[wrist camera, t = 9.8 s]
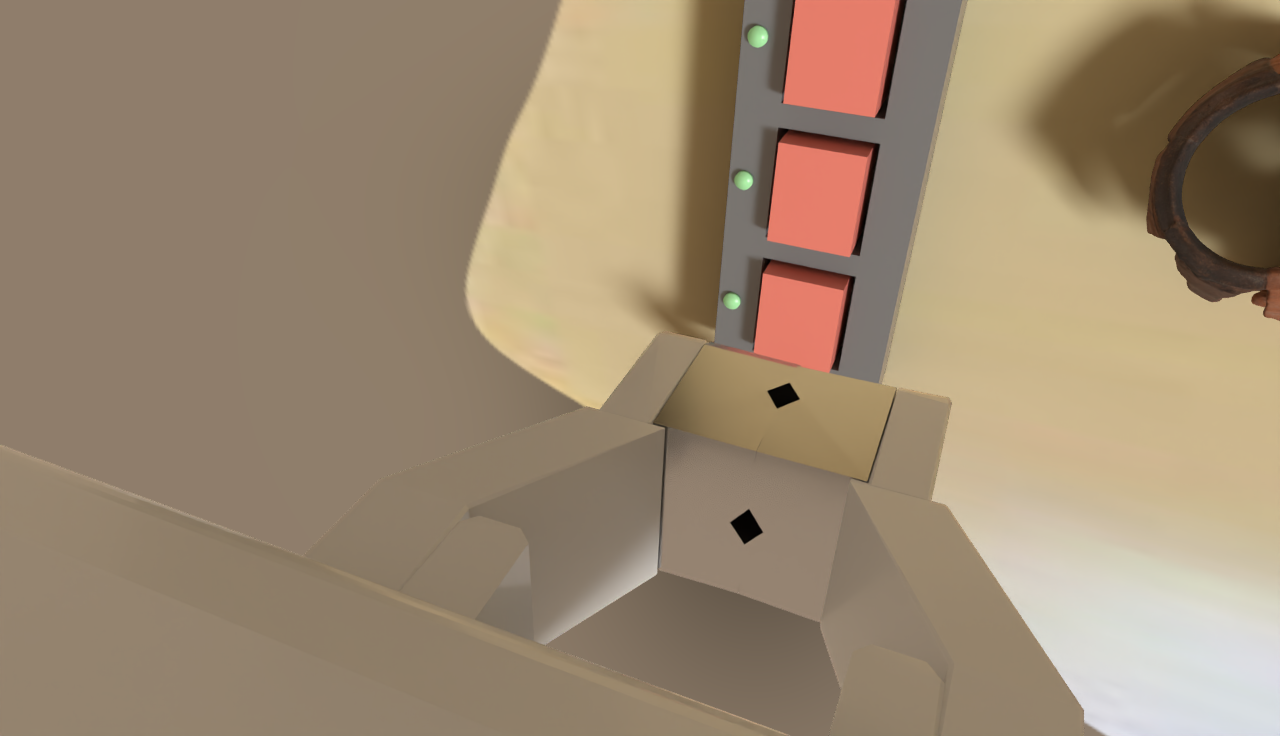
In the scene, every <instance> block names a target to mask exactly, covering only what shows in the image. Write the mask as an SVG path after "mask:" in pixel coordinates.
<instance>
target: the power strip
mask: <svg viewBox="0 0 1280 736" xmlns="http://www.w3.org/2000/svg"><path fill="white" fill-rule="evenodd" d="M966 4H967V0H905V6H904V11H903V17H902V22H901V28H900V33H899V38H898V44H897V49H896V55H895V60H894V66H893V71H892V76H891V82H890V87H889V93H888V96H887V98H886V99H885V101H884V103H883V104H882V106H881V108H880V109H879V111H878V113H877V114H876V116H875V118H874V117H868V116H861V115H855V114H848V113H842V112H835V111H829V110H822V109H816V108H809V107H803V106H796V105H790V104H783V101H784V93H785V84H786V76H787V67H788V59H789V51H790V42H791V34H792V25H793V17H794V8H795V0H745V2H744V14H743V25H742V36H741V48H740V59H739V70H738V82H737V93H736V104H735V116H734V127H733V138H732V150H731V161H730V172H729V184H728V195H727V206H726V218H725V229H724V240H723V252H722V263H721V274H720V286H719V297H718V308H717V320H716V331H715V342H714V343H718V344H722V345H725V346H729V347H733V348H737V349H741V350H745V351H748V352H752V353H754V346H755V337H756V329H757V320H758V312H759V304H760V295H761V287H762V278H763V273H764V271H765V270H766V268H767V266H768V265H769V263H770V262H771V260H772V259H773V260H778V261H783V262H788V263H792V264H797V265H802V266H807V267H811V268H816V269H821V270H826V271H831V272H835V273H840V274H845V275H850V276H855V277H854V283H853V288H852V293H851V299H850V304H849V310H848V315H847V320H846V326H845V331H844V337H843V342H842V344H841V347H840V349H839V351H838V354H837V356H836V358H835V361H834V363H833V365H832V368H831V370H830V373H832V374H836V375H841V376H846V377H850V378H855V379H859V380H864V381H868V382H873V383H878V384H881V383H882V380H883V377H884V374H885V370H886V366H887V361H888V357H889V352H890V348H891V343H892V339H893V334H894V330H895V325H896V320H897V316H898V311H899V307H900V302H901V298H902V293H903V289H904V284H905V280H906V275H907V271H908V266H909V262H910V257H911V253H912V248H913V244H914V239H915V235H916V230H917V226H918V221H919V217H920V212H921V207H922V203H923V198H924V194H925V189H926V185H927V180H928V176H929V171H930V167H931V162H932V158H933V153H934V149H935V144H936V140H937V135H938V131H939V126H940V122H941V117H942V113H943V108H944V104H945V99H946V95H947V90H948V85H949V81H950V76H951V72H952V67H953V63H954V58H955V54H956V49H957V45H958V40H959V36H960V31H961V27H962V22H963V18H964V13H965V9H966ZM789 129H792V130H798V131H804V132H810V133H816V134H823V135H829V136H835V137H841V138H847V139H853V140H859V141H866V142H872V143H878V144H879V147H878V153H877V158H876V163H875V169H874V174H873V180H872V185H871V191H870V196H869V201H868V207H867V212H866V218H865V223H864V228H863V231H862V233H861V235H860V237H859V239H858V241H857V243H856V245H855V247H854V249H853V251H852V253H851V256H850V257H846V256H841V255H836V254H831V253H826V252H821V251H816V250H811V249H806V248H801V247H796V246H791V245H786V244H782V243H777V242H772V241H767V237H768V228H769V220H770V211H771V203H772V195H773V186H774V178H775V169H776V161H777V152H778V144H779V141H780V140H781V139H782V138H783V137H784V135H785V134H786V133H787V132H788V130H789Z"/></svg>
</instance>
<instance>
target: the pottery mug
mask: <svg viewBox="0 0 1280 736" xmlns="http://www.w3.org/2000/svg"><path fill="white" fill-rule="evenodd" d="M1279 93H1280V54H1278V55H1277V56H1276V57H1274V58H1262V59H1259V60H1257V61H1254V62H1252V63H1250V64H1249V65H1247V66H1245V67H1244V68H1242V69H1240V70H1239V71H1237V72H1236V73H1234V74H1232V75H1231V76H1229V77H1228V78H1227V79H1225V80H1224V81H1222V82H1221V83H1220V84H1218V85H1217V86H1215V87H1214V88H1213V89H1211V90H1210V91H1209V92H1208V93H1206V94H1205V95H1204V96H1203V97H1201V98H1200V99H1199V100H1198V101H1197V102H1196V103H1195V104H1194V105H1193V106H1192V107H1191V108H1190V109H1189V110H1188V111H1187V112H1186V113H1185V114H1184V115H1183V117H1182V118H1181V119H1180V120H1179V121H1178V122H1177V124H1176V125H1175V126H1174V128H1173V129H1172V130H1171V132H1170V133H1169V135H1168V141H1169V144H1168V145H1167V146H1166V148H1165V149H1164V150H1163V151H1162V152H1161V153H1160V154H1159V155H1158V157H1157V159H1156V161H1155V165H1154V169H1153V172H1152V177H1151V185H1150V195H1149V203H1148V212H1147V232H1148V233H1149V234H1153V235H1154V236H1156V237H1158V238H1162V239H1165V240H1167V242H1168V243H1169V244H1170V246H1171V247H1172V248H1173V250H1174V251H1175V252H1176V255H1175V261H1176V265H1177V269H1178V271H1179V272H1180V273H1181V275H1182V276H1183V277H1184V278H1185V279H1186V280H1187V286H1188V288H1189V289H1190V290H1191V291H1192V292H1194V293H1195V294H1197V295H1199V296H1200V297H1202V298H1204V299H1206V300H1208V301H1210V302H1218V301H1220V300H1221V299H1222V298H1229V297H1234V296H1237V295H1239V294H1241V293H1247V292H1251V291H1260V290H1261V291H1260V292H1258V293H1256V294H1254V295H1253V297H1252V300H1251V301H1252V303H1253V304H1255V305H1258V306H1262V307H1265V309H1264V311H1263V315H1264V316H1265V317H1267V318H1274V319H1276V320H1279V321H1280V267H1272V268H1267V269H1264V268H1256V267H1250V266H1245V265H1241V264H1237V263H1234V262H1232V261H1229V260H1227V259H1225V258H1223V257H1221V256H1219V255H1217V254H1216V253H1214V252H1213V251H1212V250H1210V249H1209V248H1207V247H1206V246H1205V245H1204V244H1203V243H1202V242H1201V241H1199V239H1198V238H1197V237H1196V236H1195V234H1194V233H1193V232H1192V230H1191V229H1190V228H1189V226H1188V223H1187V220H1186V217H1185V214H1184V210H1183V205H1182V185H1183V180H1184V176H1185V171H1186V169H1187V166H1188V163H1189V161H1190V159H1191V157H1192V155H1193V153H1194V152H1195V150H1196V149H1197V147H1198V146H1199V144H1200V143H1201V142H1202V141H1203V140H1204V139H1205V137H1206V136H1207V135H1208V134H1209V133H1210V132H1211V131H1212V130H1213V129H1214V128H1215V127H1216V126H1217V125H1218V124H1219V123H1220V122H1221V121H1223V120H1224V119H1225V118H1227V117H1228V116H1230V115H1231V114H1233V113H1234V112H1236V111H1238V110H1240V109H1242V108H1244V107H1246V106H1247V105H1249V104H1251V103H1253V102H1256V101H1258V100H1260V99H1263V98H1267V97H1270V96H1273V95H1277V94H1279Z"/></svg>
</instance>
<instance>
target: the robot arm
mask: <svg viewBox="0 0 1280 736" xmlns="http://www.w3.org/2000/svg"><path fill="white" fill-rule="evenodd" d="M896 393H897V394H896ZM951 405H952V403H951V400H950V398H948V397H943V396H938V395H933V394H928V393H923V392H918V391H913V390H908V389H903V388H899V389H898V390H897V388H896V387H891V386H887V385H882V384H878V383H873V382H868V381H864V380H859V379H855V378H850V377H846V376H841V375H836V374H832V373H827V372H823V371H818V370H813V369H809V368H804V367H801V365H798V364H794V363H790V362H787V361H783V360H779V359H775V358H771V357H767V356H764V355H760V354H756V353H752V352H748V351H745V350H741V349H737V348H733V347H729V346H725V345H722V344H718V343H714V342H707V341H706V340H703V339H699V338H695V337H690V336H686V335H682V334H677V333H673V332H669V331H665V332H661V333H659V334H657V335H656V336H655V338H654V339H653V340H652V342H651V343H650V344H649V346H648V347H647V348H646V350H645V351H644V352H643V353H642V355H641V356H640V357H639V359H638V360H637V361H636V363H635V364H634V365H633V367H632V368H631V369H630V370H629V372H628V373H627V374H626V376H625V377H624V378H623V380H622V381H621V382H620V384H619V385H618V386H617V388H616V389H615V390H614V391H613V393H612V394H611V395H610V397H609V398H608V399H607V401H606V402H605V403H604V405H603V406H602V407H601V408H600V410H599V409H595V408H591V407H584V408H581V409H578V410H575V411H572V412H569V413H567V414H564V415H561V416H558V417H555V418H552V419H549V420H547V421H544V422H541V423H538V424H535V425H532V426H529V427H527V428H524V429H521V430H518V431H515V432H512V433H509V434H507V435H504V436H501V437H498V438H495V439H492V440H489V441H487V442H484V443H481V444H478V445H475V446H472V447H469V448H466V449H464V450H461V451H458V452H455V453H452V454H449V455H446V456H444V457H441V458H438V459H435V460H432V461H429V462H426V463H424V464H421V465H418V466H415V467H412V468H409V469H406V470H404V471H401V472H398V473H395V474H392V475H389V476H386V477H383V478H381V479H379V480H378V481H377V482H376V483H375V484H374V485H373V486H372V487H371V488H370V489H369V490H368V491H367V492H366V493H365V494H364V495H363V496H362V497H361V498H360V499H359V500H358V501H357V502H356V503H355V504H354V505H353V506H352V507H351V508H350V509H349V510H348V511H347V512H346V513H345V514H344V515H343V516H342V517H341V518H340V519H339V520H338V521H337V522H336V523H335V524H334V525H333V526H332V527H331V528H330V529H329V530H328V531H327V532H326V533H325V534H324V535H323V536H322V537H321V538H320V539H319V540H318V541H317V542H316V543H315V544H314V545H313V546H312V547H311V548H310V550H308V551H307V552H306V554H304V555H303V556H301V555H298V554H295V553H293V552H290V551H288V550H285V549H282V548H279V547H277V546H274V545H271V544H269V543H266V542H263V541H260V540H258V539H255V538H252V537H250V536H247V535H244V534H242V533H239V532H236V531H233V530H231V529H228V528H225V527H222V526H220V525H217V524H214V523H212V522H209V521H206V520H204V519H201V518H198V517H195V516H193V515H190V514H187V513H185V512H182V511H179V510H176V509H174V508H171V507H168V506H165V505H163V504H160V503H158V502H154V501H152V500H149V499H147V498H144V497H141V496H139V495H136V494H133V493H130V492H127V491H125V490H122V489H119V488H117V487H114V486H111V485H109V484H106V483H103V482H100V481H98V480H95V479H92V478H90V477H87V476H84V475H81V474H79V473H76V472H73V471H71V470H68V469H65V468H62V467H60V466H57V465H54V464H52V463H49V462H46V461H44V460H41V459H38V458H35V457H33V456H30V455H27V454H25V453H22V452H19V451H16V450H14V449H11V448H8V447H6V446H3V445H0V736H790V735H787V734H785V733H782V732H779V731H776V730H773V729H771V728H768V727H766V726H763V725H760V724H758V723H755V722H752V721H749V720H747V719H744V718H741V717H738V716H736V715H733V714H730V713H727V712H725V711H722V710H719V709H717V708H714V707H711V706H709V705H706V704H703V703H701V702H698V701H695V700H692V699H690V698H687V697H684V696H681V695H679V694H676V693H673V692H671V691H668V690H665V689H662V688H660V687H657V686H654V685H652V684H649V683H646V682H643V681H641V680H638V679H635V678H633V677H630V676H627V675H624V674H621V673H619V672H616V671H613V670H611V669H608V668H605V667H602V666H600V665H597V664H595V663H592V662H589V661H586V660H583V659H581V658H578V657H576V656H572V655H570V654H567V653H565V652H562V651H559V650H556V649H554V648H551V647H548V646H545V644H547V643H548V642H550V641H552V640H553V639H555V638H556V637H558V636H559V635H561V634H563V633H564V632H566V631H567V630H569V629H570V628H572V627H574V626H575V625H577V624H579V623H580V622H582V621H583V620H585V619H587V618H588V617H590V616H591V615H593V614H595V613H596V612H597V611H599V610H601V609H603V608H604V607H606V606H607V605H609V604H610V603H612V602H614V601H615V600H617V599H618V598H620V597H621V596H623V595H624V594H626V593H628V592H630V591H631V590H633V589H634V588H636V587H637V586H639V585H641V584H642V583H644V582H645V581H647V580H649V579H650V578H652V577H653V576H655V575H656V574H657V570H661V571H664V572H667V573H671V574H674V575H678V576H681V577H684V578H687V579H691V580H694V581H698V582H701V583H704V584H708V585H711V586H714V587H718V588H721V589H725V590H728V591H731V592H735V593H738V592H739V594H741V595H744V596H746V597H749V598H752V599H755V600H758V601H761V602H763V603H766V604H769V605H772V606H774V607H778V608H780V609H783V610H786V611H789V612H792V613H794V614H797V615H800V616H803V617H806V618H808V619H811V620H814V621H817V622H820V629H821V632H822V635H823V638H824V641H825V644H826V647H827V650H828V653H829V656H830V659H831V662H832V665H833V668H834V671H835V674H836V677H837V680H838V683H839V686H840V689H841V694H840V698H839V701H838V705H837V708H836V712H835V715H834V719H833V722H832V726H831V729H830V732H829V736H1084V710H1083V708H1082V707H1081V705H1080V704H1079V702H1078V701H1077V699H1076V698H1075V696H1074V695H1073V693H1072V692H1071V690H1070V689H1069V687H1068V686H1067V684H1066V683H1065V681H1064V680H1063V678H1062V677H1061V675H1060V674H1059V672H1058V671H1057V669H1056V668H1055V666H1054V665H1053V663H1052V662H1051V660H1050V659H1049V657H1048V656H1047V654H1046V653H1045V651H1044V650H1043V648H1042V647H1041V645H1040V644H1039V643H1038V641H1037V640H1036V638H1035V637H1034V635H1033V634H1032V632H1031V631H1030V629H1029V628H1028V626H1027V625H1026V623H1025V622H1024V620H1023V619H1022V617H1021V616H1020V614H1019V613H1018V611H1017V610H1016V608H1015V607H1014V605H1013V604H1012V602H1011V601H1010V599H1009V598H1008V596H1007V595H1006V593H1005V592H1004V590H1003V589H1002V587H1001V586H1000V584H999V583H998V581H997V580H996V578H995V577H994V575H993V574H992V572H991V571H990V569H989V568H988V566H987V565H986V563H985V562H984V560H983V559H982V557H981V556H980V554H979V553H978V551H977V550H976V548H975V547H974V545H973V544H972V542H971V541H970V539H969V538H968V536H967V535H966V533H965V532H964V530H963V529H962V527H961V526H960V524H959V523H958V521H957V520H956V518H955V517H954V515H953V514H952V512H951V511H950V509H949V508H948V506H946V505H944V504H940V503H937V502H933V501H931V499H932V495H933V490H934V485H935V481H936V476H937V471H938V466H939V462H940V457H941V452H942V448H943V443H944V438H945V433H946V429H947V424H948V419H949V414H950V410H951Z"/></svg>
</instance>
